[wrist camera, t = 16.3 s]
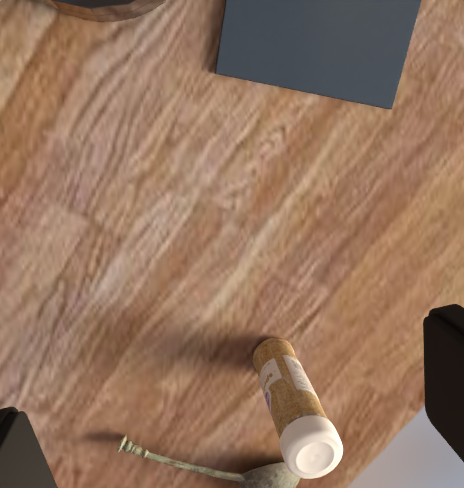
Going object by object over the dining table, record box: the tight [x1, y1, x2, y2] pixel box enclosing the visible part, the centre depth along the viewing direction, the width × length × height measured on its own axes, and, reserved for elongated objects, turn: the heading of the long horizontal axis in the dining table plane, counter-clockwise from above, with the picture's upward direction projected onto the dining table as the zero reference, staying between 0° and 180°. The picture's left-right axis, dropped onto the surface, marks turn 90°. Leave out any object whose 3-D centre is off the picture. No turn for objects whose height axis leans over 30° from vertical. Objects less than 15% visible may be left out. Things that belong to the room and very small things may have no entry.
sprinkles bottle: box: [253, 338, 343, 479], centre depth 36 cm, size 5×5×14 cm
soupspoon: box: [117, 435, 300, 488], centre depth 44 cm, size 22×3×7 cm
